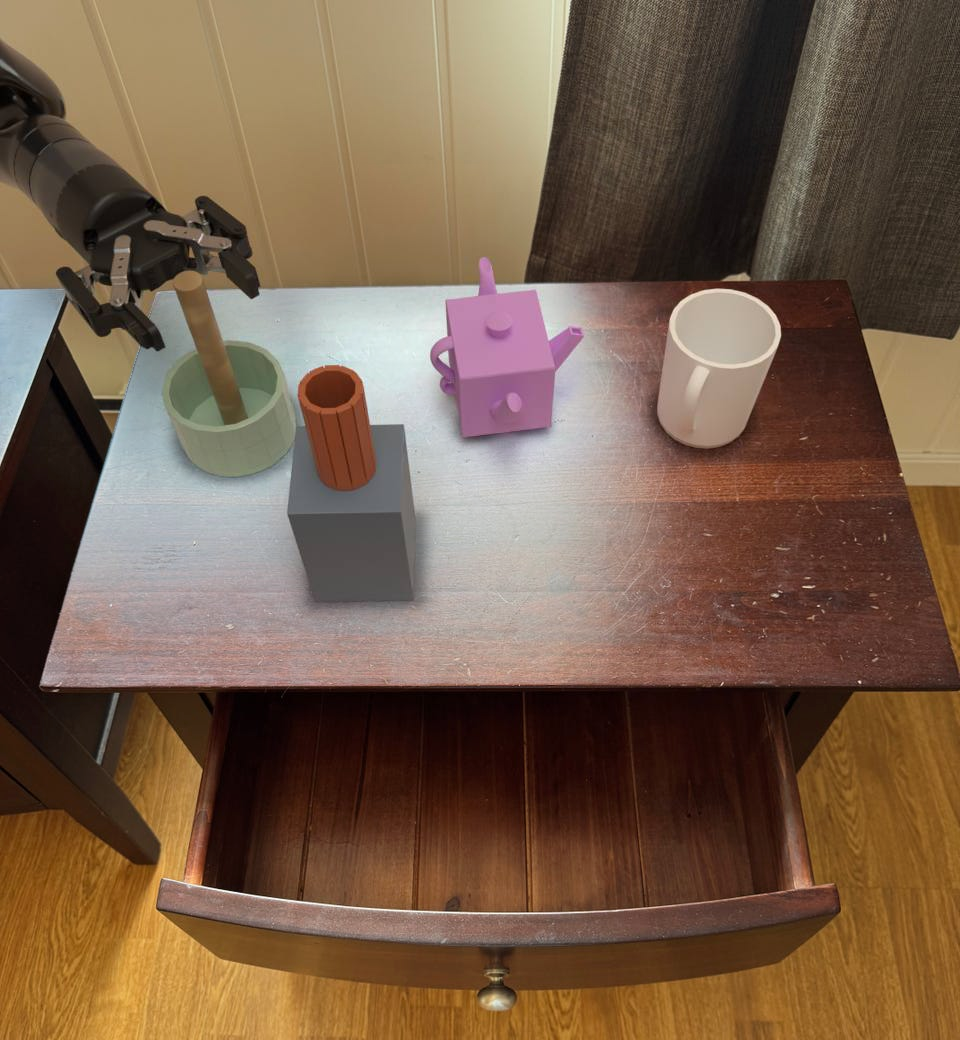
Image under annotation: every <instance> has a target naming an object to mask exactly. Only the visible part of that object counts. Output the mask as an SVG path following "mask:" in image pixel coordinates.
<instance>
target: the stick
mask: <svg viewBox="0 0 960 1040" xmlns="http://www.w3.org/2000/svg"><path fill="white" fill-rule="evenodd" d="M172 286H173V289H174V291H175V294H176V297H177V299H178V302H179V305H180V308H181V310H182V313H183V317H184V319H185V321H186V324H187V327H188V330H189V333H190V335H191V337H192V340H193V342H194V346H195V349H197V352H198V354H199V357H200V360H201V363H202V365H203V368H204V371H205V374H206V376H207V379H208V382H209V385H210V387H211V390H212V393H213V396H214V398H215V401H216V404H217V406H218V409H219V412H220V415H221V417H222V420H223V423H224V425H231V424H237V423H239V422H241V421H243V420H246V419H248V415H247V412H246V409H245V406H244V403H243V400H242V397H241V394H240V391H239V388H238V385H237V382H236V379H235V376H234V373H233V370H232V367H231V364H230V361H229V358H228V354H227V351H226V348H225V345H224V342H223V341H224V340H223V337H222V334H221V331H220V328H219V324H218V321H217V319H216V316H215V311H214V309H213V306H212V302H211V300H210V296H209V295H208V291H207V287H206V285H205V282H204V279H203V275H201V274H199V273H198V272H195V271H184V272H181V273H179V274H178V275H176V276H175V278H174V279H172Z"/></svg>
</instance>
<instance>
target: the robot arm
mask: <svg viewBox="0 0 960 1040" xmlns="http://www.w3.org/2000/svg"><path fill="white" fill-rule="evenodd" d="M66 118H67V105H66V101H65V98H64V96H63V94H62V92H61V89H60V88H59V87H58V85H57V84H56V83H55V81H54V80H53V79H52V78H51V77H50V76H49V75H48V73H46V72H45V71H44V70H43V69H42V68H41V67H39V66H38V65H37V64H36V63H35V62H33V61H32V60H31V59H29V58H28V57H27V56H25V55H24V54H22V53H21V52H20V51H18V50H17V49H15V48H14V47H12V46H10V45H9V44H8V43H7V42H5V41H4V40H3V39H1V38H0V183H1V184H4V185H7V186H8V187H11V188H14V189H17V190H18V191H21V192H22V193H23V194H24V195H25V196H26V197H27V198H28V199H29V200H30V201H31V202H32V203H33V204H34V205H35V206H36V208H38V209H39V210H40V212H41V213H42V215H43V216H44V218H45V219H46V221H47V222H48V223H49V225H51V227H52V228H53V229H54V231H55V233H56V234H57V235H58V236H59V237H60V238H61V239H62V240H63V241H65V242H67V243H68V245H70V246H71V247H72V248H73V250H75V252H76V253H78V255H79V256H80V257H81V258H82V259H83V260H84V261H85V262H86V263H87V264H88V265H87V266H85V267H83V268H80V269H79V270H76V271H74V270H73V269H72V268H71V267H69V266H61V267H59V268H58V269H57V270H56V271H55V276H56V278H57V279H58V282H59V284H60V286H61V288H62V291H63V292H64V294H65V296H66V298H67V300H68V301H69V303H70V304H71V305H72V307H73V309H75V310H76V312H77V313H78V314H79V315H80V317H81V318H82V319H83V320H84V321H85V323H86V324H87V325H88V327H89V328H90V329H91V330H92V331H93V333H94V334H95V335H96V336H97V337H99V338H105V337H108V336H109V335H110V334H112V330H114V329H121V330H123V331H126V332H127V333H128V335H130V336H131V338H132V339H134V341H135V342H137V344H138V345H139V346H140V347H141V348H143V349H144V350H150V349H151V348H152V349H153V350H154V352H156V353H159V352H161V351H162V350H164V349H165V348H166V347H167V346H166V344H165V341H164V339H163V337H162V334H161V331H160V329H159V328H158V326H157V325H156V324H155V323H154V322H153V321H152V320H151V319H150V318H149V317H148V315H146V314H145V313H144V312H143V310H142V306H143V299H144V292H146V291H149V292H150V293H151V292H154V291H155V290H158V289H159V288H160V287H162V286H163V285H164V284H165V283H166V282H169V281H173V280H174V278H175V276H176V275H178V274H179V273H181V272H184V271H195V272H198V273H199V274H200V275H201V276H206V275H208V273H209V272H215V273H222V274H225V276H226V278H227V279H228V280H229V281H230V282H232V284H234V286H236V287H237V288H238V289H239V290H240V291H241V292H242V293H243V294H244V295H245V296H247V297H248V298H249V299H250V300H253V299H255V298H257V297H258V296H260V294H261V293H260V290H259V288H260V287H261V282H260V279H259V275H258V272H257V268H256V267H255V266H254V265H253V264H252V263H251V262H250V261H249V260H248V259H250V258H251V257H252V256H253V248H252V247H251V243H250V240H249V237H248V230H247V227H246V225H245V224H243V222H241V221H240V220H239V219H237V218H236V217H235V216H233V215H232V214H231V213H230V212H229V211H227V210H226V209H224V208H223V207H222V206H220V204H218V203H217V202H215V201H214V200H213V199H211V197H209V196H207V195H199V196H198V197H196V198H195V199H194V205H195V207H196V209H193V210H192V211H190V212H188V213H186V214H185V215H183V216H182V215H179V214H176V213H172V212H170V211H168V210H167V209H166V208H165V207H164V205H163V204H162V203H161V202H160V201H159V200H158V199H157V198H156V197H155V196H154V195H153V194H152V193H151V192H150V191H148V189H146V188H145V187H144V185H142V184H141V183H140V182H139V181H138V180H137V179H135V177H133V176H132V175H131V174H130V173H129V172H128V171H127V170H126V169H125V168H123V166H121V165H120V164H119V163H118V162H117V161H116V160H115V159H114V158H112V157H111V156H110V155H109V154H107V153H105V152H104V151H103V150H100V149H99V148H97V146H95V145H94V144H93V143H92V142H91V141H90V140H89V139H88V138H86V136H84V135H83V133H82V132H81V131H79V130H78V129H77V128H76V127H75V126H74V125H72V124H71V123H70V122H68V121H67V119H66ZM190 251H192V254H193V257H192V256H190ZM211 252H213V253H217V255H218V256H216V255H213V254H211ZM97 283H99V284H101V285H103V286H108V287H111V290H110V295H109V302H105V303H102V304H101V303H100V301H98V300H97V299H96V297H95V296H94V294H95V293H96V289H95V285H96V284H97Z"/></svg>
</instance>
